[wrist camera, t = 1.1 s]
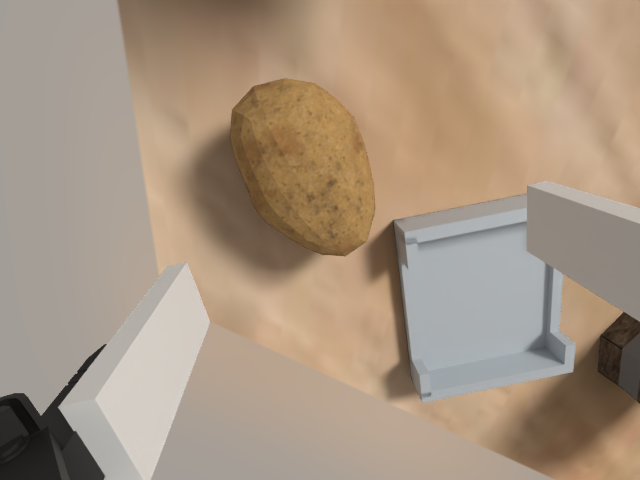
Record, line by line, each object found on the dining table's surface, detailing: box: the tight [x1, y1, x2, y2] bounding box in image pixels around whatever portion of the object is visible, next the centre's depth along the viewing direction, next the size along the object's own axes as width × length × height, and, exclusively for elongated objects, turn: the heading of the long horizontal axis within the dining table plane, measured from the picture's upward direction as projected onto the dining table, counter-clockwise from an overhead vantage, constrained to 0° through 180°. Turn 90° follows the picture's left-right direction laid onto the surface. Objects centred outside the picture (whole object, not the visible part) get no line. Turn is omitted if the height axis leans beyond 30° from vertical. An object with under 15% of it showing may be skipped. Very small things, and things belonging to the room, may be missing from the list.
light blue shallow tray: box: [393, 194, 576, 403], centre depth 35 cm, size 19×16×4 cm
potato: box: [230, 79, 375, 256], centre depth 27 cm, size 10×14×8 cm
